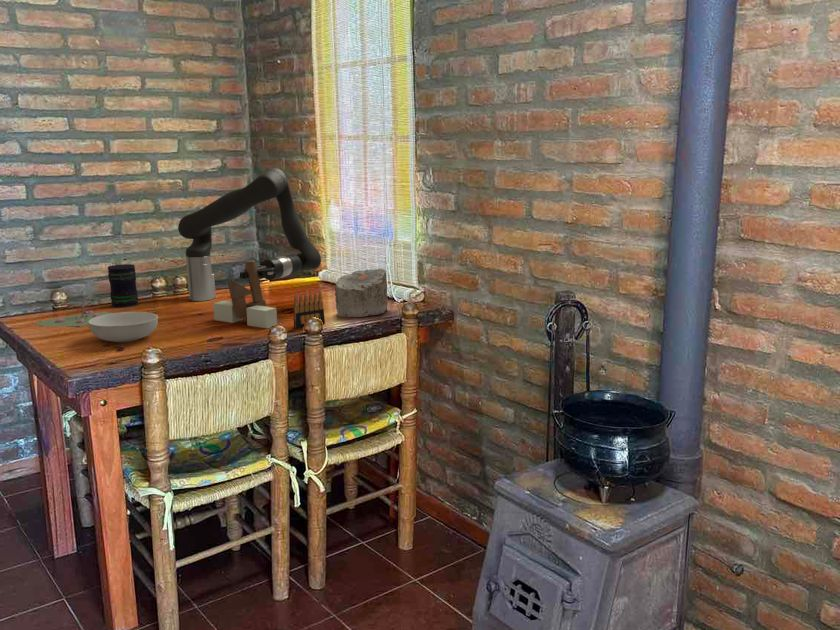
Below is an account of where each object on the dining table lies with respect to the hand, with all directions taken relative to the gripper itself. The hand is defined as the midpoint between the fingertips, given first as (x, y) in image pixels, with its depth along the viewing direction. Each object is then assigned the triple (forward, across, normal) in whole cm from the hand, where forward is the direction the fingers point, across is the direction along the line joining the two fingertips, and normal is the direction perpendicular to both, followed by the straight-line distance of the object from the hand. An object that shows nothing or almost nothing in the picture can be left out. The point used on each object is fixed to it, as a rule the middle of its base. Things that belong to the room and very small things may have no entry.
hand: (241, 275), depth 269 cm
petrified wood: (-32, +26, +17) cm, 45 cm away
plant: (+28, -56, +17) cm, 65 cm away
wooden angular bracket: (-2, +1, +14) cm, 14 cm away
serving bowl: (+35, -18, +16) cm, 42 cm away
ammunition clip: (-8, +22, +17) cm, 29 cm away
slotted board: (0, 0, +16) cm, 16 cm away
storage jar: (+2, -62, +16) cm, 64 cm away
